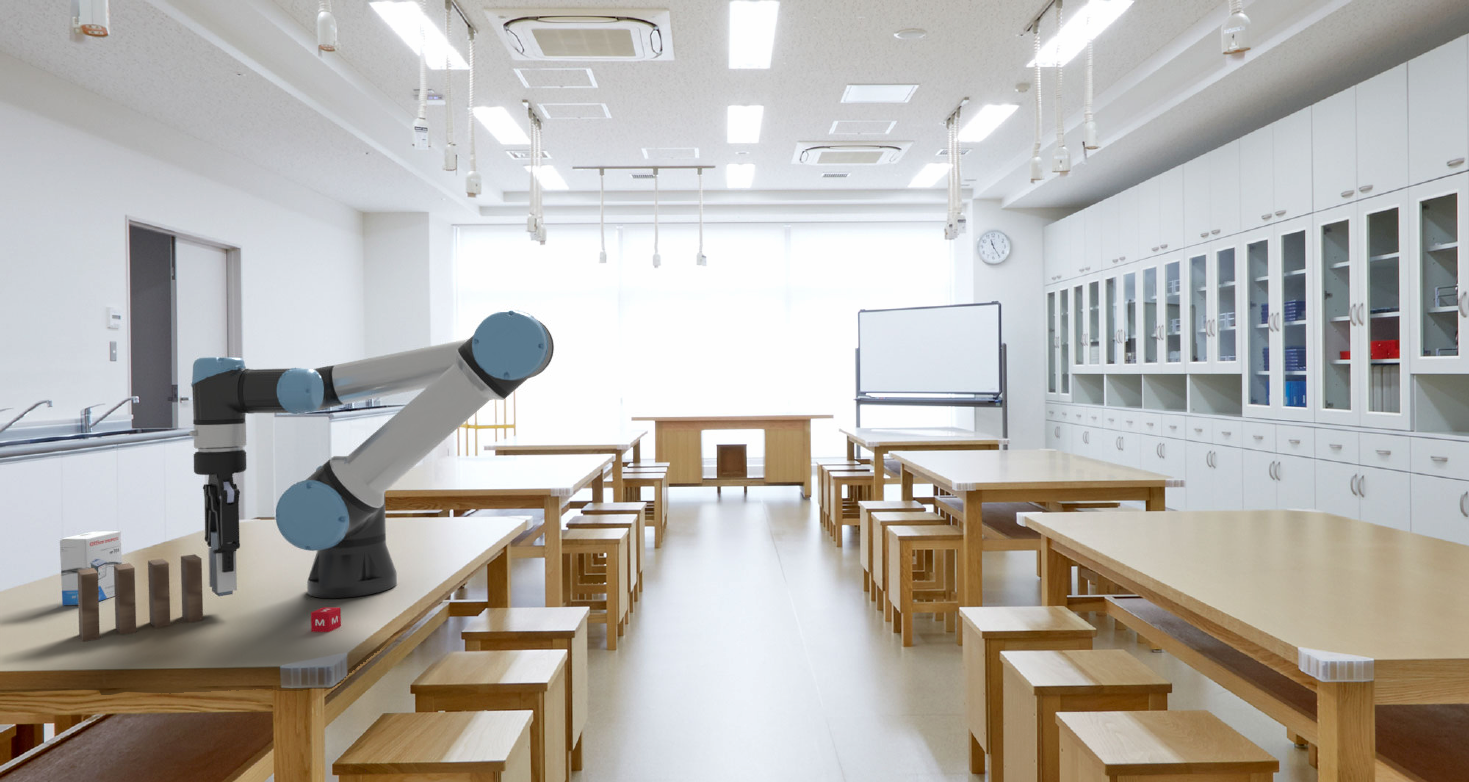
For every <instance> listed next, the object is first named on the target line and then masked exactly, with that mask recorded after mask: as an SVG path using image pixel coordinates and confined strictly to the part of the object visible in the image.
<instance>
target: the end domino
mask: <svg viewBox="0 0 1469 782" xmlns="http://www.w3.org/2000/svg"><path fill="white" fill-rule="evenodd" d="M99 603H100V601H99V591H98V572H97V571H96V570H95V569H94V568H89V569H81V570H78V605H77V607H78V632H79V633H78V635H79V637H80V639H81V640H82V642H88V641H93V640H99V639H100V638H101V637H100V634H101V633H100V604H99Z"/></svg>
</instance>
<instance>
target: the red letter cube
mask: <svg viewBox="0 0 1469 782" xmlns="http://www.w3.org/2000/svg"><path fill="white" fill-rule="evenodd" d="M341 611H342V610H341V607H333V606H332V607H330V606H329V607H328V606H327V607H324V606H323V607H321V608H318V609H316V610H314V611H311V612H310V623H311V624H310V625H311V626H310V627H311V628H310V631H311V632H313V633H314V632H316V633H317V632H318V633H319V632H321V633H329V632H332V631H334V630H336V629H338V628H340V626H341V627H342V618H341V617H342V615H341Z"/></svg>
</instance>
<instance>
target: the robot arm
mask: <svg viewBox="0 0 1469 782" xmlns="http://www.w3.org/2000/svg"><path fill="white" fill-rule="evenodd" d="M554 351H555V345H554V339H553V336H552V333H551V332H550V330H549V329H548V328H547V326H546V324H544V323H543V322H541V321H540V320H538V319H537V318H535V317H534V316H533V315H531V314H530V313H527V312H525V311H522V310H517V309H504V310H501V311H497V312H494V313H491V314H490V315H488V316H487V317H486V318H484V319H483V320H482V321H481V322H480V324H479V325H478V326H477V327H476V329H475V331H474V332H473V335H472V336H471V337H469V338H465V339H460V340H456V341H451V342H447V343H446V342H445V343H442V344H436V345H430V346H426V347H421V348H415V349H409V350H404V351H400V352H396V353H390V354H385V355H379V356H374V357H370V358H364V359H360V360H354V361H349V362H343V363H338V364H334V365H327V366H322V367H316V368H302V367H291V368H267V369H266V368H264V369H263V368H261V369H260V368H256V369H253V368H246V364H245V363H246V362H245V361H244V359H243V358H241V357H230V356H229V357H227V356H225V357H224V356H223V357H219V356H217V357H216V356H215V357H211V356H210V357H209V356H208V357H199V358H197V359H195V360H194V362H193V364H192V378H191V381H192V382H191V383H190V387H191V389H192V410H193V411H192V412H193V413H192V414H193V420H192V421H193V422H192V423H193V430H190V431H189V432H188V434H189V437H193V447H194V449H197V451H195V452H194V453H193V473H194V474H196V475H198V476H208V479H207V480H208V482H207V484H206V483H205V484H203V486H202V489H203V496H204V541H205V542H206V545H207V546H208V548H207V549H208V552H207V554H208V587H209V588H212V570H211V532H216V531H217V540H218V549H217V550H213V553H214V554H216V567H217V593H221V592H227V591H237V590H238V589H237V587H238V585H237V584H238V583H237V580H238V578H237V575H238V574H237V550H238V549H240V547H241V543H240V507H239V506H240V504H239V503H240V494H241V491H240V489H238V485H237V483H234V477H233V475H234V474H240V473H243V472H246V470H247V451H245V449H243V447H246V446H247V423H246V415H247V414H250V415H251V414H252V415H253V414H292V415H293V414H294V415H297V414H304V413H314V412H319V411H325V410H328V409H329V408H334V407H339V406H342V405H343V406H344V405H348V404H354V403H358V402H363V401H368V400H373V399H378V398H384V397H388V396H394V395H399V394H403V393H410V392H414V391H420V390H422V391H421V392H420V393H418V394H417V396H415V397H414V398H413V399H412V400H411V401H410V402H409V403H407V404H406V405H405V406H404V407H402V409H400V410H399V411H398V412H397V413H395V414H394V415H393V416H392V417H391V418H389V420H388V421H387V422H385V423H384V424H382V426H381V427H379V428H378V429H377V430H376V431H374V433H373V434H372V435H369V437H368V438H367V439H366V440H365V441H363V442H362V443H361V444H360V445H359V446H357V447H356V448H355V449H354V450H353V451H352V452H350V453H349V454H348V455H334V456H332V457H330V459H328V460H327V461H326V462H325V463H324V464H322V465H319V466H317V468H316V469H315V471H314V472H313V473H312V474H311V475H310V476H308V477H307V478H305V480H301V481H297V482H296V483H294V484H292V485H291V486H290V487H288V488H287V489H286V490H285V491H284V492H283V493H282V494H281V496H280V497H279V499H278V501H277V504H276V508H275V521H276V522H275V523H276V526H277V529H278V531H279V533H280V535H281V536H282V537H283V538H284V539H285V540H286V541H287V542H288V543H289V544H291V545H292V546H294V547H295V548H298V549H300V550H303V551H308V552H309V551H313V552H314V551H316V554H315V557H314V559H313V562H312V566H311V569H310V572H309V576H308V578H307V584H306V585H307V587H306V588H307V589H306V590H307V595H309V596H311V597H315V598H319V599H321V598H322V599H339V598H341V599H342V598H343V599H344V598H353V597H360V596H361V597H362V596H368V595H373V594H378V593H381V592H384V591H388V590H389V589H392V588H394V587H395V586H396V585H397V584H398V579H397V577H398V576H397V570H396V567H395V565H394V562H393V558H392V557H391V554H390V552H389V548H388V546H387V542H386V541H387V539H386V538H387V537H386V535H387V534H386V533H387V531H386V528H387V527H386V525H387V524H386V492H387V491H388V490H389V489H390V488H392V486H393V485H394V484H395V483H397V482H398V481H399V480H401V478H403V477H404V476H405V475H406V474H407V473H408V472H410V471H411V469H413V468H414V467H415V466H416V465H417V464H418V463H420V462H421V461H422V460H423V459H424V458H425V457H427V456H428V455H429V454H430V453H431V452H433V450H435V449H436V448H437V447H439V445H440V444H442V442H443V441H445V440H446V439H447V438H448V437H449V436H451V435H452V434H453V433H454V432H455V431H457V430H458V428H460V427H461V426H462V425H463V424H464V423H465V422H467V421H468V420H469V419H470V418H472V416H474V414H476V413H477V412H478V411H479V410H480V409H481V408H482V407H484V406H485V405H486V404H487V403H489V401H492V400H496V401H498V400H500V401H501V400H502V401H504V400H505V399H506V398H507V397H509V396H510V395H511V394H512V393H513V392H514V391H515V390H517V389H518V388H519V387H520V386H521V385H523V384H524V383H525V382H526V381H527V380H529V379H530V378H533V377H536V376H538V375H540V374H541V373H543V372H544V371H545V370H546V369H547V368H548V367H549V365H550V364H551V362H552V358H553V357H554ZM227 542H229V543H227Z"/></svg>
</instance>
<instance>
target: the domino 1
mask: <svg viewBox="0 0 1469 782" xmlns="http://www.w3.org/2000/svg"><path fill="white" fill-rule="evenodd" d="M135 572H136V571H135V567H134V566H133V565H132V564H131V563H130V562H128V563H122V564H119V565H114V589H115V596H114V611H115V612H114V614H115V615H114V616H115V618H114V619H115V621H114V623H115V629H116V631H117V633H119V635H120V634H122V635H127V634H133V633H136V632H137V613H136V612H137V611H136V610H137V609H136V608H137V606H136V579H135V578H136V573H135Z"/></svg>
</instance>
